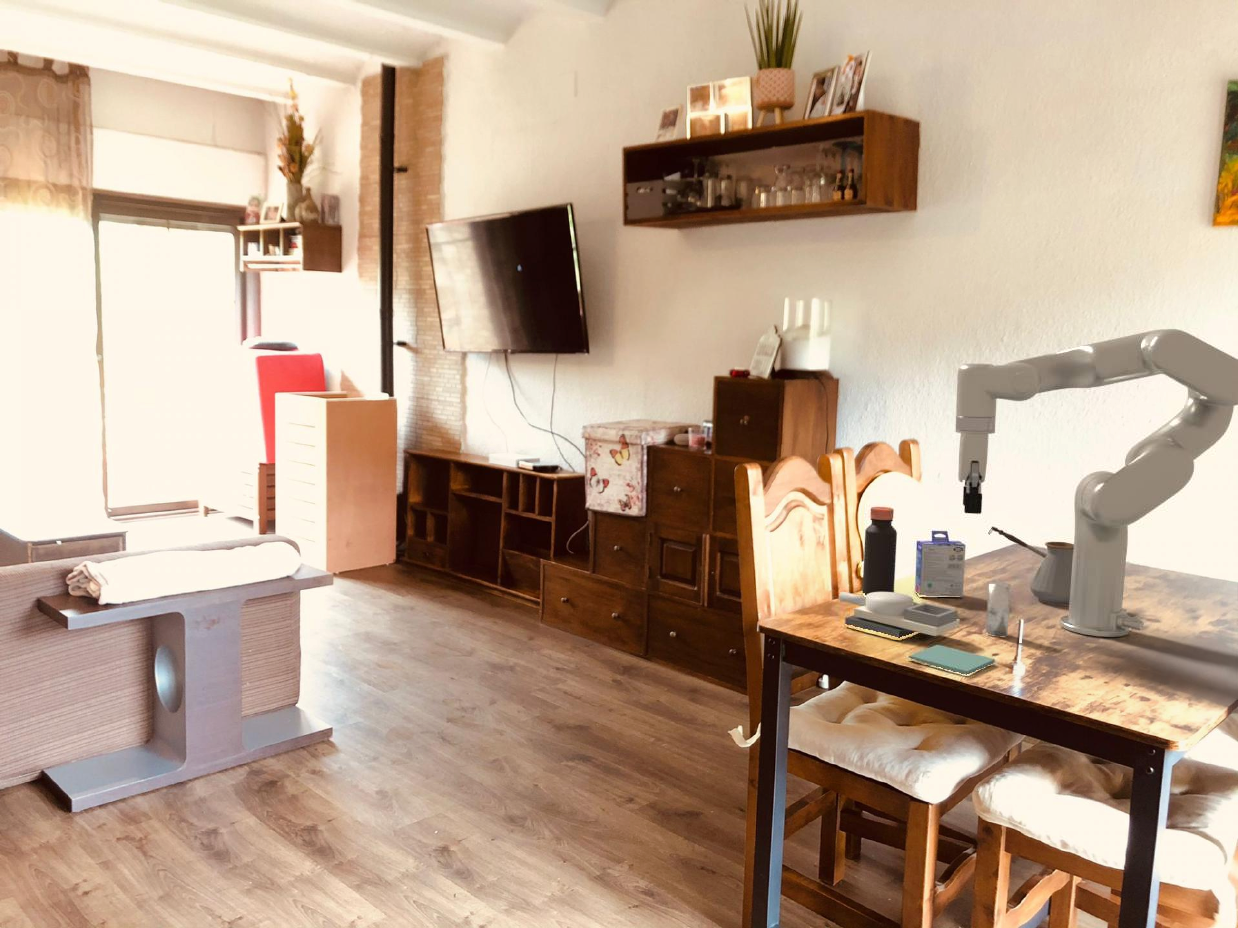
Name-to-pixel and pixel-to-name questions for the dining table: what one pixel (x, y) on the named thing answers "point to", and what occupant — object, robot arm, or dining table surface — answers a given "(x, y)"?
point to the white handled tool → (903, 612)
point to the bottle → (879, 552)
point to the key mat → (952, 659)
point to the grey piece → (998, 608)
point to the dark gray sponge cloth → (877, 626)
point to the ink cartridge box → (940, 566)
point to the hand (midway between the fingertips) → (971, 509)
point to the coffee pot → (1050, 571)
